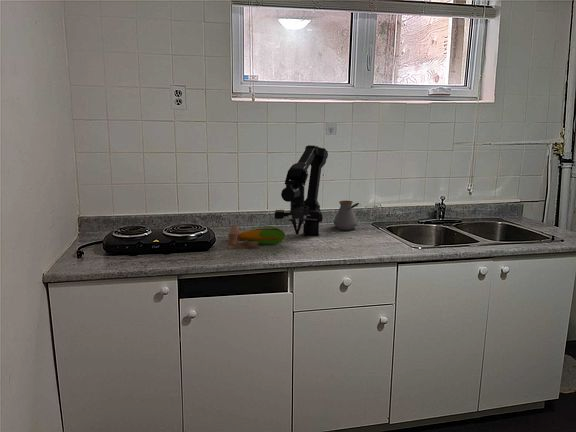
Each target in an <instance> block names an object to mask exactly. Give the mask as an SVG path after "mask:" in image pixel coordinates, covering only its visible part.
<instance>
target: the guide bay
mask: <svg viewBox="0 0 576 432" xmlns="http://www.w3.org/2000/svg"><path fill="white" fill-rule="evenodd" d="M240 233H241V232H240V226H239V225H231V227H230V229H229V231H228V236H227V238H228V241H227V243H228V249H229V250H230V249H237V250H238V249H245V250H246V249H248V250H249V249H256V250H257V249H259V248H260V247H259V242H245V240H244V239H240V238H239V237H238V234H240Z"/></svg>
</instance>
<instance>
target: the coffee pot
mask: <svg viewBox="0 0 576 432" xmlns="http://www.w3.org/2000/svg"><path fill="white" fill-rule="evenodd" d="M338 203H339V205H340V207H339V208H338V211H337V213H336V216H335V218H334V220H333V225H334V226H335V227H337V229H338V230H341V231H351V230H354V228H356V227H358V224H359V221H358V220H357V217H356V214H355V211H354V209H353V208H358V207H361V204H360V203H359V202H356V203H354V202H353V201H352V200H340V201H338ZM353 203H354V204H353Z"/></svg>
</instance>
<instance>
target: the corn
mask: <svg viewBox="0 0 576 432" xmlns="http://www.w3.org/2000/svg"><path fill="white" fill-rule="evenodd" d="M250 228H251V229H250V230H245V231H241V232H239V233H240V234H238V237H239V238H240V239H244V240H243V241H244V242H259V245H260V246H262V245H263V246H273V245H278V244H280V243H282V242H284V240H285V238H286V233H285V232H284V231H283V229H280V227H278V226H272V225H264V226H261V225H260V226H251V227H250Z"/></svg>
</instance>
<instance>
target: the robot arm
mask: <svg viewBox="0 0 576 432" xmlns="http://www.w3.org/2000/svg"><path fill="white" fill-rule="evenodd" d="M328 157H329V151H328V150H327V149H326V148H325V147H319V146H318V145H311V144H310V145H309V144H308V145H306V146H305V149H304V151H303V153H302V155H301V156H300V157H299V160H298V161H297V162H296V163H293V164H292V165H291V166H290V167H289V169H288V170H287V173H286V177H285V180H284V185H285V187H284V188H283V189H282V190H281V193H280V194H281V195H280V197H281V199H282V200H283V201H285V202H287V203H290V209H289V210H290V211H285V209H275V211H274V219H275V220H284V218H285V217H287V218H288V221H289V222H291V224H292V227H293V228H294V229H293V230H294V231H295V235H296V236H298V235H299V233H300V230H301V228H302V233H303V234H304V236H306V237H307V236H310V237H311V236H314V237H315V236H317V237H318V236H320V233H319V231H320V230H319V229H320V223H322V222H323V213H322V211H321V205H320V203H319V201H318V196H319V188H320V182H321V174H322V169H323V167H324V166H325V164H326V163H327V159H328ZM309 167H310V173H309V171H308V169H309ZM308 177H309V180H308ZM307 180H308V186H307V187H308V188H307V192H306V193H307V194H306V199H305V186H306V183H307ZM296 219H297V221H298V222H297V221H296ZM302 226H303V227H302Z"/></svg>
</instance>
